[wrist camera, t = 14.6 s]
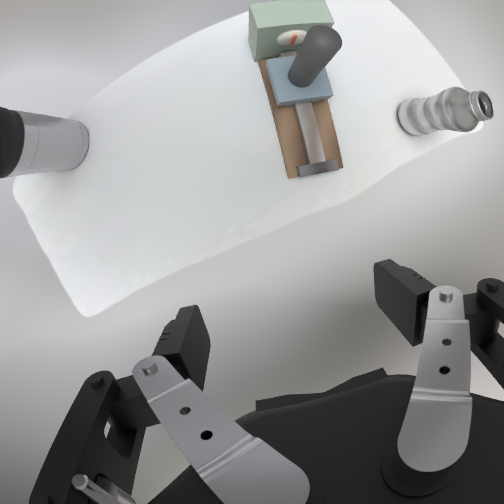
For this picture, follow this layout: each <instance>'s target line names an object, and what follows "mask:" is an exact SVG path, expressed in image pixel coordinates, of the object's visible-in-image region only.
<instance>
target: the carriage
mask: <svg viewBox="0 0 504 504" xmlns="http://www.w3.org/2000/svg"><path fill="white" fill-rule="evenodd" d="M341 46H342V39H341V37H340V35H339V34H338V33H337V32H336V31H335V30H334V29H332V28H331V27H328V26H325V25H316V26H313V27H311V28H310V29H309V30H308V32H307V34H306V36H305V38H304V40H303V42H302V44H301V46H300V48H299V50H298V53H297V55H296V56H288V57H281V58H274V59H267V61H266V68H267V72H268V75H269V79H270V82H271V86H272V89H273V93H274V96H275V100H276V104H277V106H282V105H286V107H287V106H292V105H293V104H294V103H301V102H308V101H311V103H313V102H318V101H319V100H323V99H329V98H330V97H332V96H333V92H332V89H331V85H330V82H329V79H328V75H327V72H326V69H325V66H326V65H327V64H328V62H329V61H330V60H331V59H332V58H333V57H334V55H335V54H336V53H337V52H338V51H339V49H340V48H341Z"/></svg>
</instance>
